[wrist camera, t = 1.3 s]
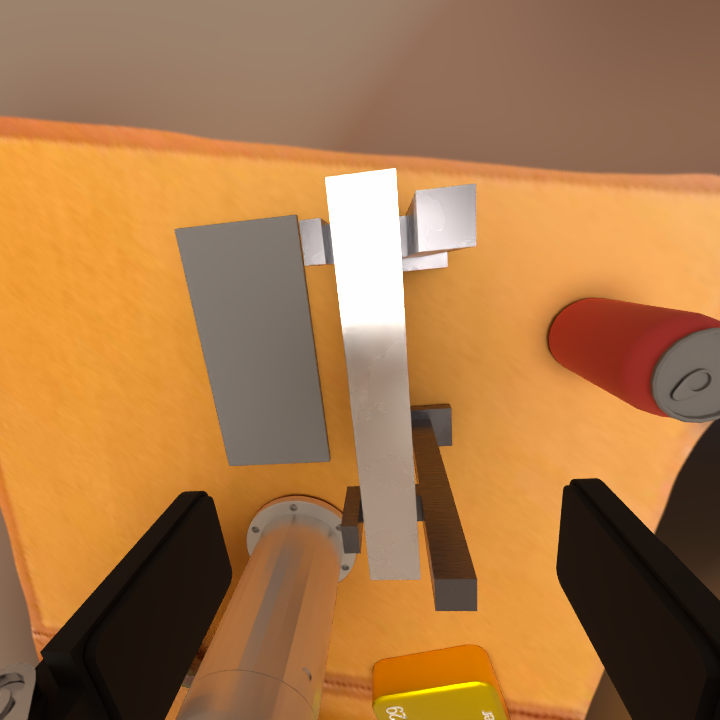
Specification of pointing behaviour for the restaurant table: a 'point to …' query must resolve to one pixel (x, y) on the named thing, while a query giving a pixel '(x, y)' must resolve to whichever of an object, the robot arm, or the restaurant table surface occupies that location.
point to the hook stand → (428, 422)
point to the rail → (377, 364)
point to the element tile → (438, 686)
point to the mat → (257, 338)
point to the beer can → (643, 355)
